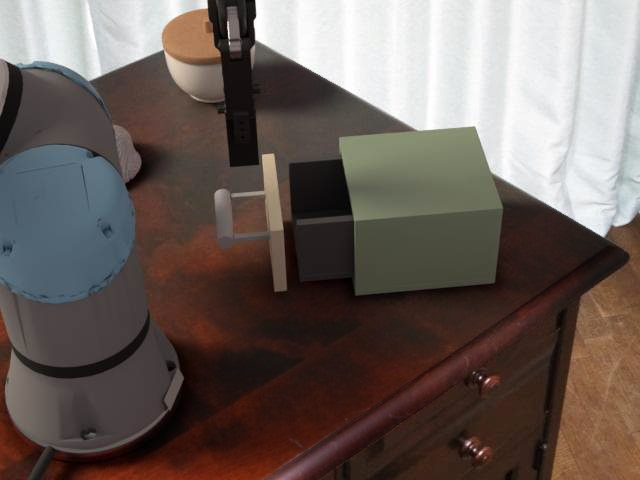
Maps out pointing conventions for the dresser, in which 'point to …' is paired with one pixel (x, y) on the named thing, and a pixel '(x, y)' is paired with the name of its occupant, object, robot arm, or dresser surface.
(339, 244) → the drawer
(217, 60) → the trinket box
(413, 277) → the cabinet
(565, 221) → the dresser surface
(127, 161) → the seashell
